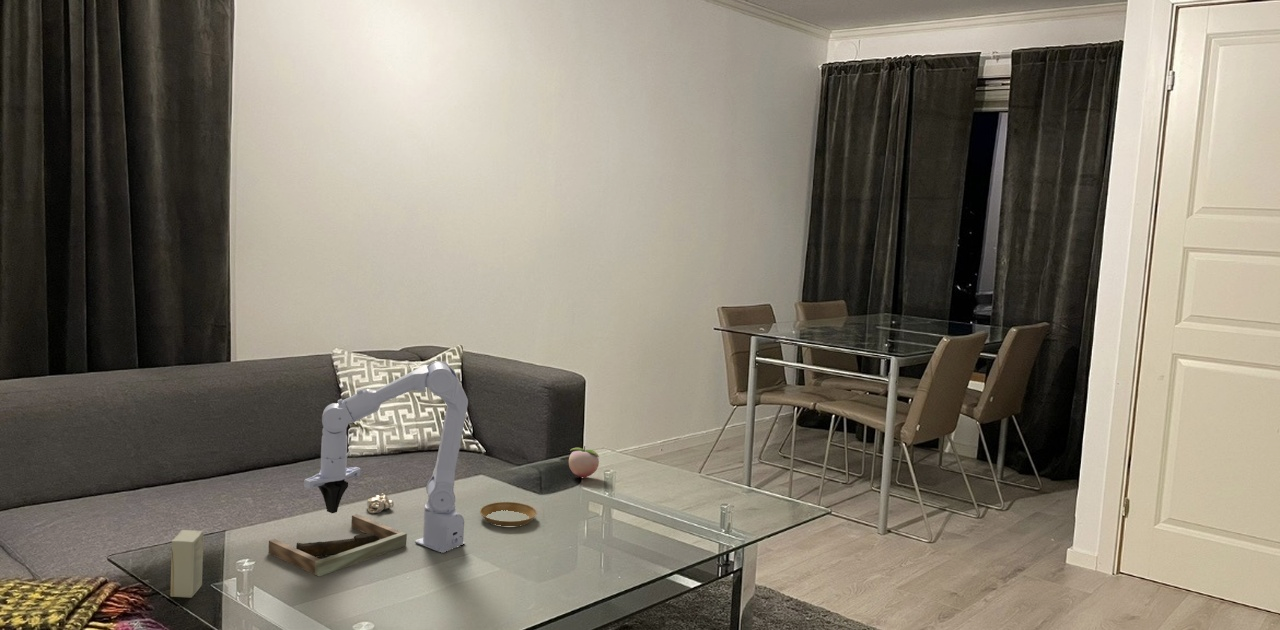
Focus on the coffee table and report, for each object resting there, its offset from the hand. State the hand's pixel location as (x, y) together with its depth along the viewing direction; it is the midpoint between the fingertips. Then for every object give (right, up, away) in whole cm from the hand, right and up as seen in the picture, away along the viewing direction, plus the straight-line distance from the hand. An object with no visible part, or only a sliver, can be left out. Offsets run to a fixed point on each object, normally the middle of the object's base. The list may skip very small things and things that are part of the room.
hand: (331, 511), depth 231 cm
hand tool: (+2, -10, -3) cm, 10 cm away
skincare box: (-21, -11, -28) cm, 37 cm away
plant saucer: (+38, -8, +27) cm, 47 cm away
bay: (+2, -9, 0) cm, 9 cm away
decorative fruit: (+55, -3, +66) cm, 86 cm away
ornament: (+4, -5, +28) cm, 28 cm away
